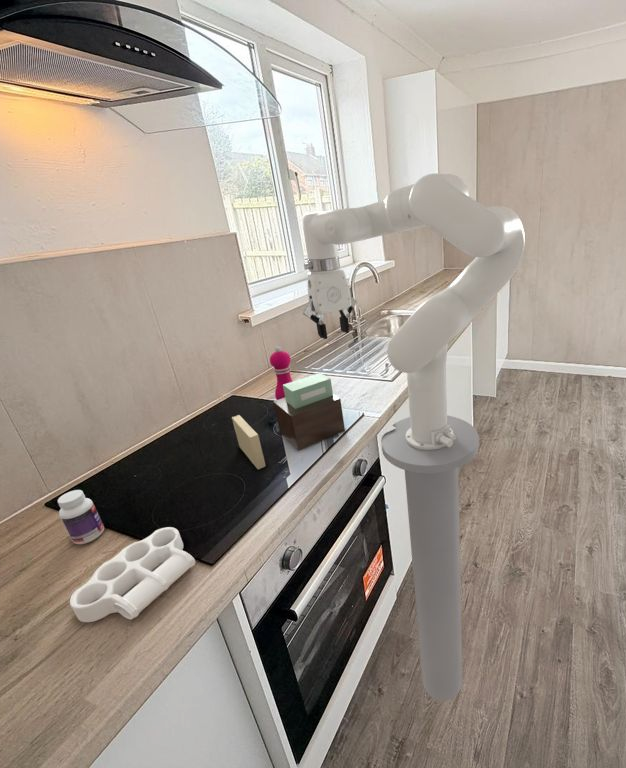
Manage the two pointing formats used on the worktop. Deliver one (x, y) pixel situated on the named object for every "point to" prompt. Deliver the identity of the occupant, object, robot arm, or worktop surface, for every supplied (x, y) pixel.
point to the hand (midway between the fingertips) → (334, 334)
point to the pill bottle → (80, 517)
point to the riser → (309, 421)
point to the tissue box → (308, 390)
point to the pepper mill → (281, 370)
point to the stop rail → (249, 441)
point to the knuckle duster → (133, 577)
